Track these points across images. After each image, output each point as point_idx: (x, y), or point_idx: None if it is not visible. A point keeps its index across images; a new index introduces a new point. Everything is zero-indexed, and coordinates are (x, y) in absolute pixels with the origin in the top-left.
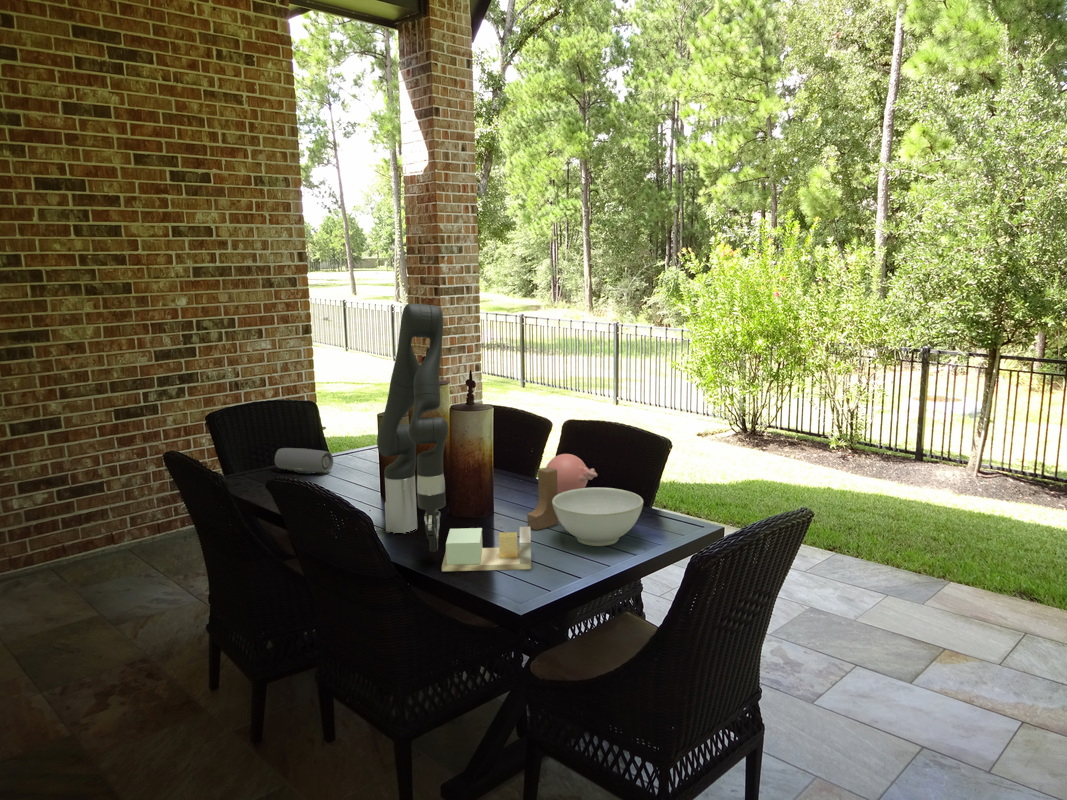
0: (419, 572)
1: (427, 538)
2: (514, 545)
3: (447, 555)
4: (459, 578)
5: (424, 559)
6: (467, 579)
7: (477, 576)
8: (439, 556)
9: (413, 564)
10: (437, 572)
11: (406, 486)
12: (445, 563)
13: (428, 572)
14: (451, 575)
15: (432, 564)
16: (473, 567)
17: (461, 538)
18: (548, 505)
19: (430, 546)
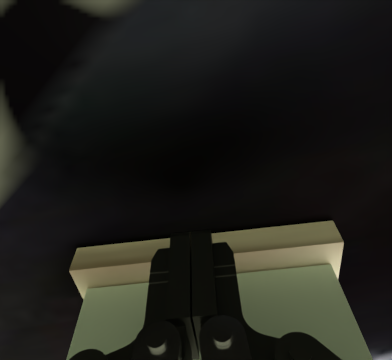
0: (24, 148)
1: (73, 357)
2: None
3: (75, 341)
4: (22, 315)
5: (250, 123)
6: (24, 336)
7: (65, 354)
8: (298, 194)
9: (151, 72)
10: (58, 232)
11: None
12: (110, 278)
13: (43, 194)
14: (43, 287)
15: (167, 187)
16: None
17: None
18: None
19: (170, 265)
